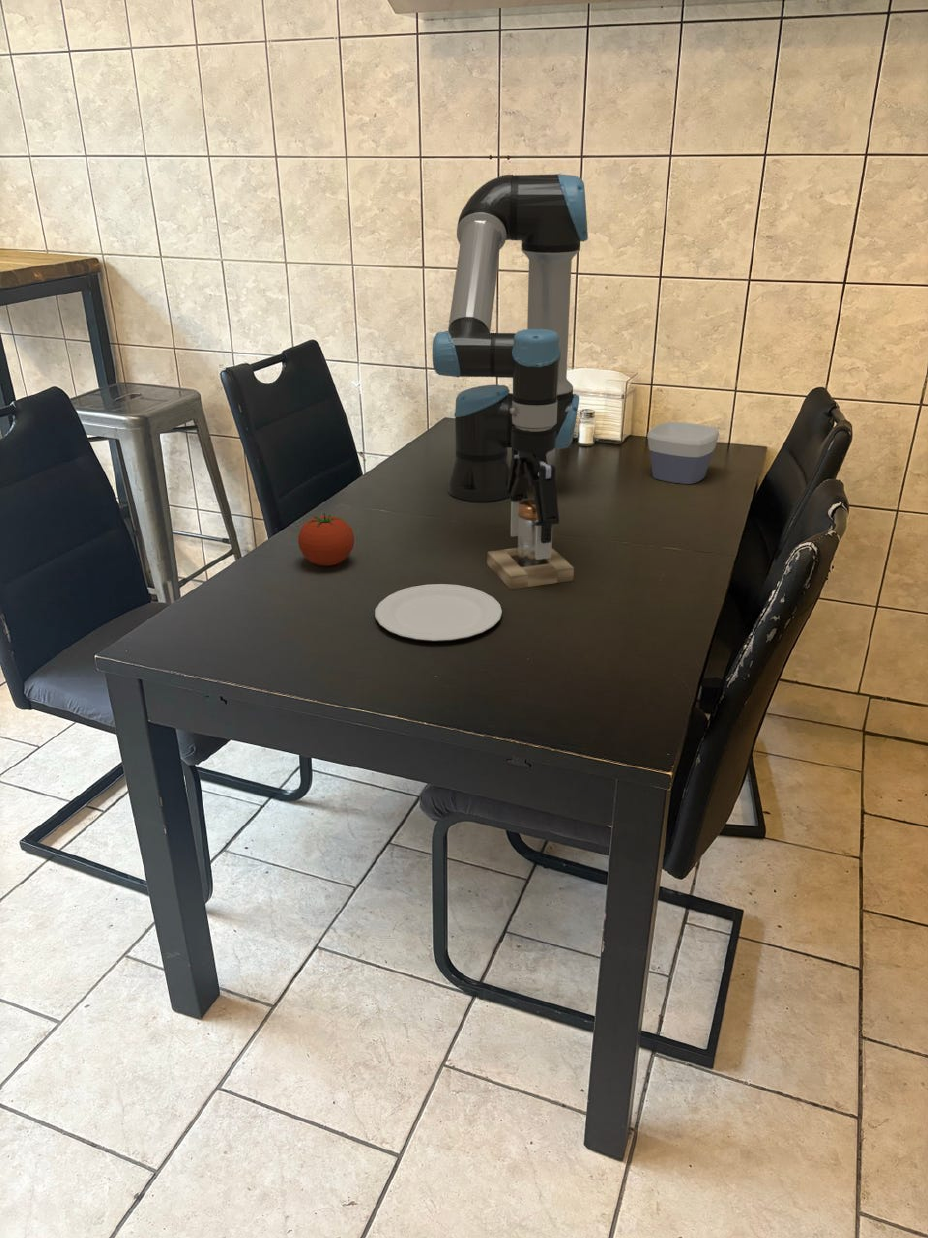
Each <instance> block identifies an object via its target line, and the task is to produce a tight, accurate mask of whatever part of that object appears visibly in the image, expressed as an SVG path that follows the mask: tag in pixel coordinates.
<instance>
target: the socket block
mask: <svg viewBox="0 0 928 1238" xmlns="http://www.w3.org/2000/svg"><path fill="white" fill-rule="evenodd" d="M486 554H487V556H486V557H487V559H486V560H487V561H486V563H487V565H488V566H489V568H490V569H491V570H492V571H493V572H494V573H495V575H496V576H497V577H498V578H499V579H500V580H501V581H502V582H503V583H504V584H505V586H507V588H508V589H509V590H517V589H518V590H519V589H525V588H532V587H537V586H538V587H539V586H546V585H551V584H558V583H566V582H572V581H574V573H575V566H573V565H572V564H571V563H569V562H568V561H567V560H566V559H565V558H564V557H563V556H561V554H559V552H557V551H556V550H555V549H554V548H552V547H551V558H548V559H542V564H541V565H534V566H527V567H520V566H519V565H518V547H513V548H504V549H499V550H491V551H487V553H486Z"/></svg>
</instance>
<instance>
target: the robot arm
mask: <svg viewBox="0 0 928 1238" xmlns="http://www.w3.org/2000/svg"><path fill="white" fill-rule="evenodd" d="M586 204H587V203H586V191H585V183H584V180H583V179H582V178H581V177H580V176H577V175H568V174H561V173H558V174H557V173H556V174H527V175H526V174H525V175H521V174H520V175H519V174H518V175H513V174H504V175H499V176H498V177H495V178H492V179H491V180H488V181H487V182H485V183H484V184H483V185H481V186H480V187H479V188H477V190H476V191H475V192H473V194H472V195H471V196H470V197H469V199H468V200H467V202H466V204H464V207H463V208H462V210H461V213H460V215H459V217H458V221H457V222H458V223H457V227H456V238H457V241H458V243H459V250H458V258H457V265H456V271H455V279H454V286H453V292H452V300H451V308H450V314H449V321H448V327H447V328H448V329H447V330H444V331H439V332H436V333H435V335H434V337H433V341H432V364H433V365H432V366H433V369H434V372H435V374H437V375H438V376H444V377H453V378H499V379H502V378H505V379H506V378H507V379H508V378H510V379H512V392H511V393H510V388H509V387H508V386H507V385H505V384H498V383H497V384H485V385H479V386H474V387H471V388H467V389H464V390H462V391H461V392H459V393H458V394H457V396H456V398H455V409H454V417H455V418H454V419H455V421H454V422H455V423H454V424H455V460H454V463H453V466H452V468H451V471H450V476H449V479H448V482H447V483H448V484H447V487H448V488H447V489H448V490H447V492H448V494H449V495H451V497H453V498H456V499H460V500H462V501H467V502H468V501H469V502H482V503H483V502H484V503H485V502H496V501H501V500H505V499H508V498H509V499H510V501H511V502H510V537H512V538H513V537H518V524H519V515H518V512H519V503H520V502H522V501H526V500H529V499H528V498H529V497H528V494H527V492H528V489H529V488H531V490H532V495H533V500H535V505H536V511H537V516H538V521H539V522H536V523H535V525H536V544H535V559H536V560H541V559H548V558H551V548H552V543H553V542H552V541H553V526H554V525H559V523H560V516H559V505H558V496H557V486H556V485H557V484H556V466H555V465H554V464H548V458H547V454H548V453H550V452H552V451H553V450H555V449H556V450H557V449H558V450H559V449H562V450H563V449H567V448H568V447H569V446H570V445H571V444H572V442H573V438H574V433H575V429H576V422H577V417H578V411H579V405H580V395H579V394H577V393H574V386H573V384H572V383H571V382H570V381H569V380H568V378H567V377H568V373H567V372H568V352H569V332H570V331H569V328H570V327H569V326H570V309H571V288H572V286H571V285H572V284H571V283H572V263H573V259H574V257H575V256H577V254H579V252H580V251H581V242H585V241H588V239H589V238H588V237H589V234H588V233H589V232H588V220H587V205H586ZM506 241H521V251H522V252H521V253H523V254H524V255H525V256H526V257H527V260H528V278H527V279H528V282H527V284H528V285H527V318H526V319H527V324H526V325H527V326H526V329H525V328H524V329H521V330H518V331H516V332H491V329H492V319H493V311H494V302H495V295H496V294H495V293H496V284H497V275H498V265H499V259H500V258H499V257H500V251H501V249H502V248H503V247H504V245H505V243H506ZM508 448H509V449H510V448H511V458H510V459H511V461H510V462H509V457H508V456H509V455H508V454H509V453H508V451H509V449H508Z"/></svg>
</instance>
